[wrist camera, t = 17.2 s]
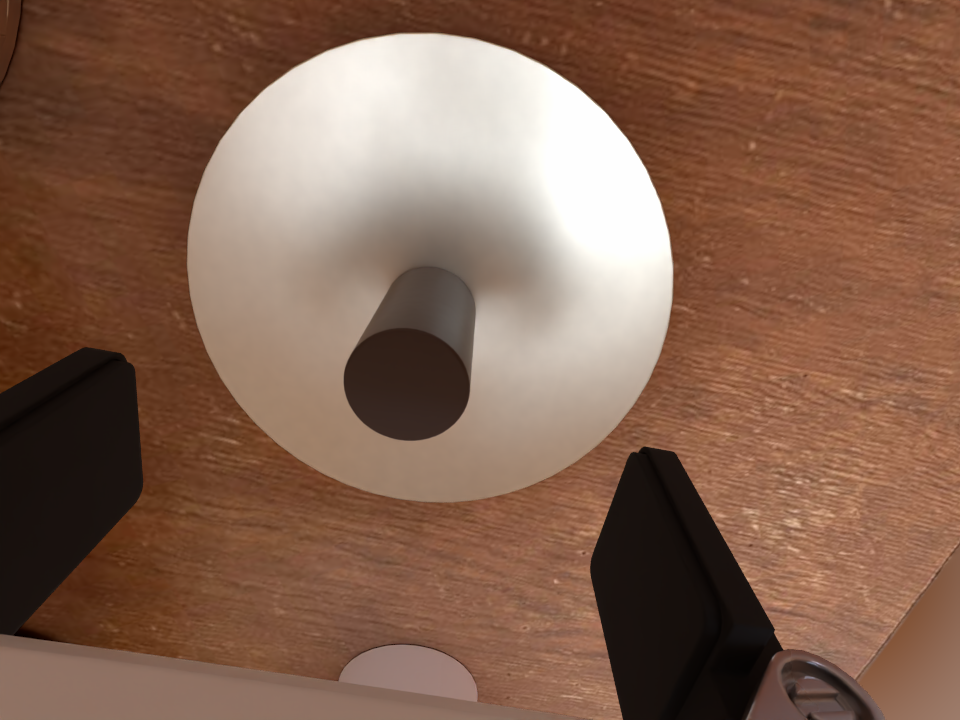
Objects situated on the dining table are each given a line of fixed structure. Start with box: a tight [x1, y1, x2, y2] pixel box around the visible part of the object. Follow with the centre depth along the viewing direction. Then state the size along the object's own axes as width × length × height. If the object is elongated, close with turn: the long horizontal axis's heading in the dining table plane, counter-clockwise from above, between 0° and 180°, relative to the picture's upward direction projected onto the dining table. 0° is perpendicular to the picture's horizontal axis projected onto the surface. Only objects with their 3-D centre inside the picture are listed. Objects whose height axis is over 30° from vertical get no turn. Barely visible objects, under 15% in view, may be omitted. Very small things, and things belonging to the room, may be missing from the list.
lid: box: [187, 32, 674, 502], centre depth 16 cm, size 16×16×7 cm
